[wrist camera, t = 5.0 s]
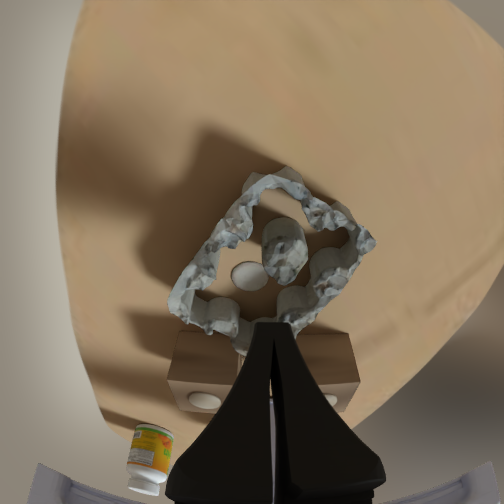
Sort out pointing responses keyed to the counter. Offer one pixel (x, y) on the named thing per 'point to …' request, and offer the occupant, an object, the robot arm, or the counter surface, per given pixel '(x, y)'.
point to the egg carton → (271, 262)
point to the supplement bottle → (149, 458)
